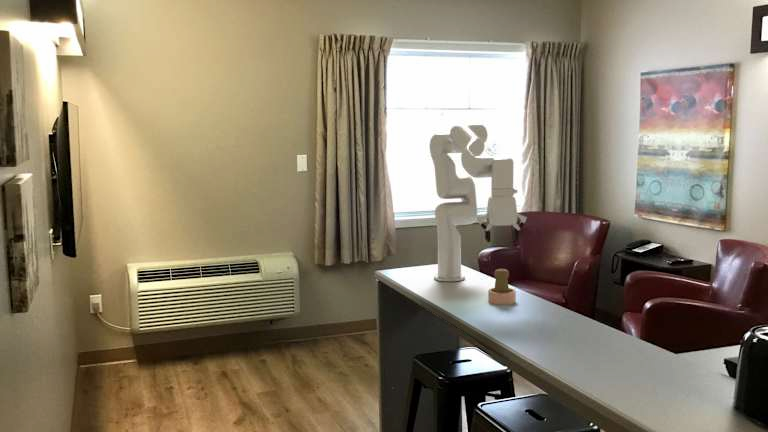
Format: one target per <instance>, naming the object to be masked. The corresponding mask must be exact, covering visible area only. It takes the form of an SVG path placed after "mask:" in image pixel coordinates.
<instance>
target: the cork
mask: <svg viewBox="0 0 768 432" xmlns="http://www.w3.org/2000/svg"><path fill="white" fill-rule="evenodd" d="M493 274H494V278H495V281H494V288H495V289H494V292H496V293H509V288H510V286H509V280H508V278H510V277H509V276H510V272H509V270H508V269H506V268H498V269H495V271H494V273H493Z"/></svg>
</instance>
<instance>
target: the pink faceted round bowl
mask: <svg viewBox="0 0 768 432" xmlns="http://www.w3.org/2000/svg"><path fill="white" fill-rule="evenodd" d="M494 289H495V287H491V288H489V289H488V294H487V295H488V300H487V301H488V302H489V303H490V304H492V305H500V306H501V305H502V306H503V305H504V306H505V305H513V304H515V303H516V302H517V301H516V300H517V295H516V294H517V290H516V289H514V288H511V287H509V293H496V292H494Z"/></svg>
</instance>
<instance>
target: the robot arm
mask: <svg viewBox="0 0 768 432" xmlns="http://www.w3.org/2000/svg"><path fill="white" fill-rule="evenodd" d="M487 140H488V131H487V128H486V127H485V126H484V125H483V124H482V123H479V122H477V123H475V122H473V123H471V122H470V123H465V122H464V123H457V124H454V125H453V126H452V127H451V129H450V131H446V132H445V131H443V132H438V133H435V134H433V135H432V137H431V138H430V141H429V153H430V157H431V160H432V162H433V165H434V175H435V186H436V194H437V196H438V198H440V200H441V199H442V200H456V199H460V200H461V201H453V202H452V201H451V202H449V201H448V202H443V203H439V204H438V205H437V206H436V207H435V210H434V216H435V222H436V230H437V231H436V232H437V274H434V276H433V279H434V280H435V281H439V282H450V283H451V282H460V281H464V280H465V279H466V277H465V276H466V275H464V274H463V273H462V236H461V233H460V232H459V231H458V229H457V227H456V226H462V225H463V226H465V225H472V224H474V223H475V222H476V221H477V222H478V223H479V226H480V227H481V228H482V229H483V230H484V239H485V240H486V242H487V243H490V242H491V231H490V230H491V228H492V227H493V226H496V227H497V226H499V227H501V226H512V227H513V229H512V237H513V238H512V241H514V242H516V243H517V242H518V240H519V238H520V230H521V229H522V228H523V226H524V225H525V223H526V221H527V220H528V219H527V218H528V217H527V216H524V215H522V214H521V213H519V212H517V211H518V210H517V209H518V208H517V202H516V201H517V200H516V197H515V194H518V189H515V187H514V163H515V162H514V160H513V159H512V158H511V157H503V156H500V155H494V156H493V155H492V156H490V155H488V156H486V155H485V156H482V153H484V150H485V143H486V142H487ZM449 154H461V155H460V156H461V157H460V158H461V159H460V160H461V165H462V168H463V169H464V170H465V172H466V173H467V174H469V175H466V174H465V175H464V174H463V175H461V174H459V175H457V170H456V164H455V163H456V162H454V160H453V159H452V157H451V156H450V155H449ZM470 176H471V177H470ZM472 177H473V178H475V179H480V178H481V179H482V178H491V196H488V202H487V207H486V208H487V209H486V213H485V214H483V215H481V216H479V217H478V206H477V204H478V203H477V193H476V185H475V182H474V180H473V178H472ZM518 218H519V219H520V222H519V223H518ZM484 220H486V222H487V223H486V224H485V222H484Z"/></svg>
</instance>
